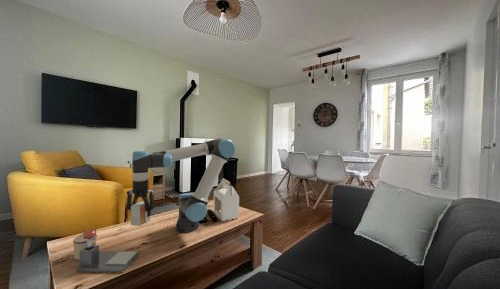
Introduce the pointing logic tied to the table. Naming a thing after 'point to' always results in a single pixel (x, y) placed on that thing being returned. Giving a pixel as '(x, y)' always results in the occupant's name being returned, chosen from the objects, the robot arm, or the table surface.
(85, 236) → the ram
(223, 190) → the gable box
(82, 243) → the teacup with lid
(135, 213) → the small box
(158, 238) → the table surface
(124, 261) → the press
